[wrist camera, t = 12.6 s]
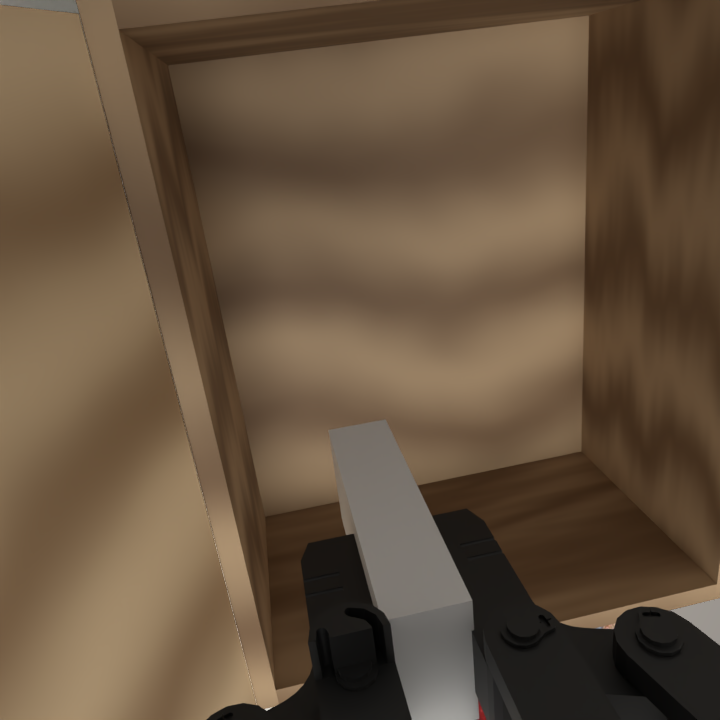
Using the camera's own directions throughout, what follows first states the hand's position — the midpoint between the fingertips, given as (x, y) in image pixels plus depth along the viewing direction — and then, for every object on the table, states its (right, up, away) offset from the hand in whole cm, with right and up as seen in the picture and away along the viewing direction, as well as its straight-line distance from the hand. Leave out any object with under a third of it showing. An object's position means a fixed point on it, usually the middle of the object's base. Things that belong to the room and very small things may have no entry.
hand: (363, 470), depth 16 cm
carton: (+2, +7, +15) cm, 17 cm away
